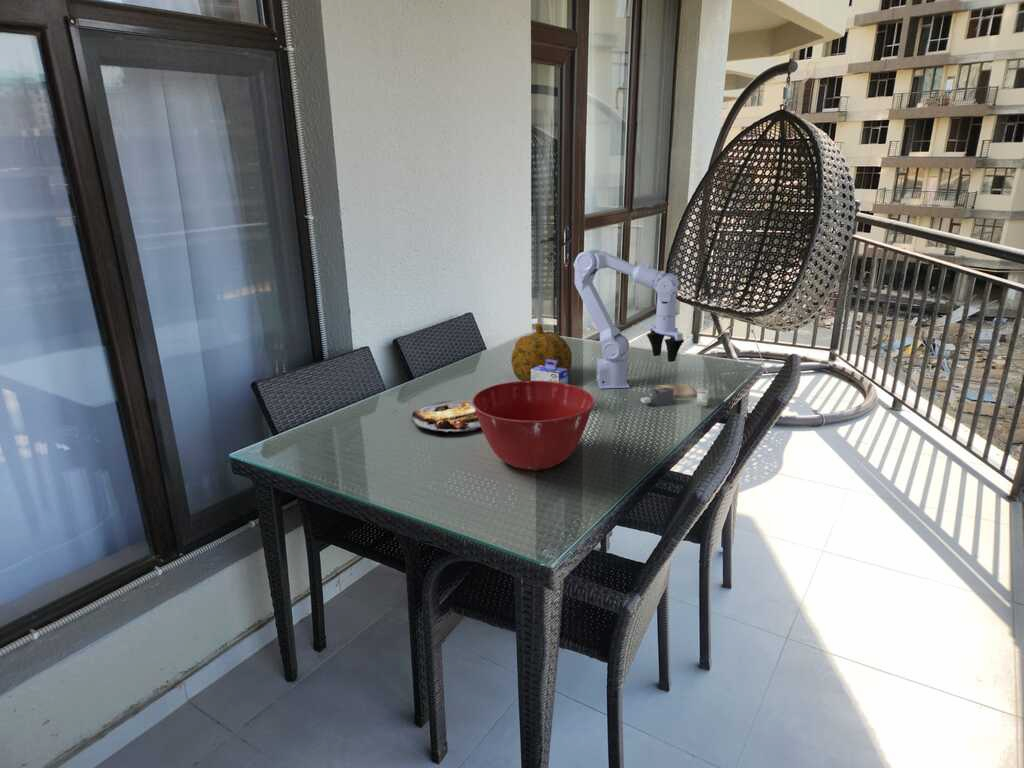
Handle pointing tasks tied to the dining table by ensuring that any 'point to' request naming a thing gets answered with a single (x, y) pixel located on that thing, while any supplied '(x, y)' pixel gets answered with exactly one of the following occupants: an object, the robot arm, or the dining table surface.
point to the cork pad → (679, 390)
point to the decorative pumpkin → (539, 352)
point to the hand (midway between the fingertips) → (664, 358)
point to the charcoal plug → (659, 397)
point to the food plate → (447, 416)
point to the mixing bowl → (533, 421)
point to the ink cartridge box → (549, 373)
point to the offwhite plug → (702, 397)
